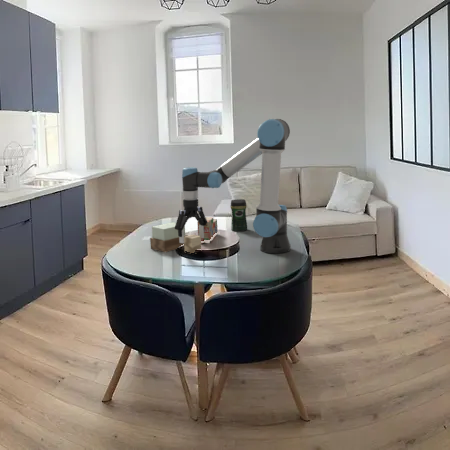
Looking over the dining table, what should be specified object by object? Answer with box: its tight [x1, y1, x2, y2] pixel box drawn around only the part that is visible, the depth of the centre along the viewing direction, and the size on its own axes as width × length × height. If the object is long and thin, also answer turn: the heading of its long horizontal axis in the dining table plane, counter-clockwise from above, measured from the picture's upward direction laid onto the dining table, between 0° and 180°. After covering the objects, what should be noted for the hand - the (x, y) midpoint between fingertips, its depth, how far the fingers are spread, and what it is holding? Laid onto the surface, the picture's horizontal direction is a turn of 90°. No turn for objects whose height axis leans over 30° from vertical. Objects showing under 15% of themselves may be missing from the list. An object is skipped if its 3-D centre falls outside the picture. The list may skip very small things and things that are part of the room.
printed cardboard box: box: [197, 216, 219, 241], centre depth 279 cm, size 21×6×12 cm, turn 168°
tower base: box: [149, 234, 189, 253], centre depth 264 cm, size 12×16×6 cm
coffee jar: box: [230, 198, 248, 232], centre depth 298 cm, size 10×8×19 cm
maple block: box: [183, 234, 202, 254], centre depth 253 cm, size 6×6×8 cm
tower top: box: [151, 221, 186, 241], centre depth 263 cm, size 10×14×6 cm
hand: (191, 240), depth 253 cm, fingers open, 13 cm apart
